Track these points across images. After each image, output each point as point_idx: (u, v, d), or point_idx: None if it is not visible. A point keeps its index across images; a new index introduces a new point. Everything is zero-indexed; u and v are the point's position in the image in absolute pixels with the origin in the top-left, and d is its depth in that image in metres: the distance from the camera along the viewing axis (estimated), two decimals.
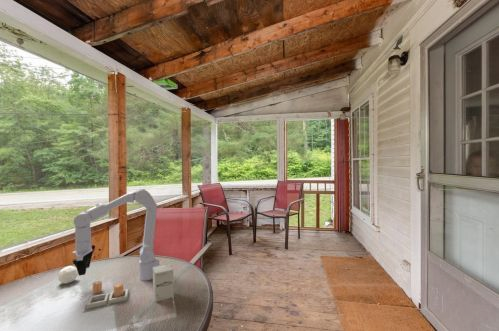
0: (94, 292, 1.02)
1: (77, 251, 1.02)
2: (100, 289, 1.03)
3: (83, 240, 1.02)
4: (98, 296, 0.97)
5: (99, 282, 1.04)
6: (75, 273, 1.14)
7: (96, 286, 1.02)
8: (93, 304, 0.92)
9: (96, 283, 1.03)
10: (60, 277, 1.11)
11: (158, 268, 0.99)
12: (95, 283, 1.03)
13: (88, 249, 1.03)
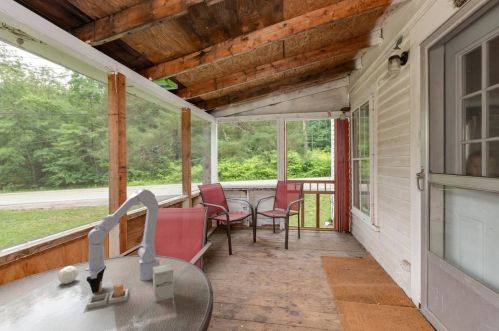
0: None
1: (90, 268, 1.01)
2: (100, 289, 1.03)
3: (98, 257, 1.01)
4: (98, 296, 0.97)
5: None
6: (75, 273, 1.14)
7: None
8: (93, 304, 0.92)
9: None
10: (60, 277, 1.11)
11: (158, 268, 0.99)
12: None
13: (101, 266, 1.02)
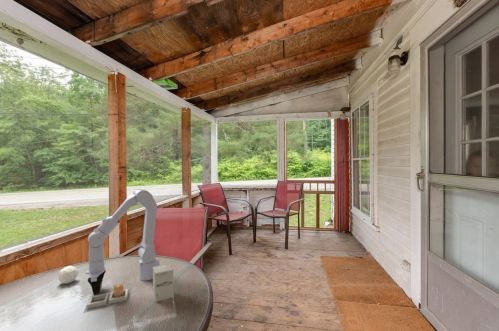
0: None
1: (91, 271, 1.01)
2: (100, 289, 1.03)
3: (98, 260, 1.01)
4: (98, 296, 0.97)
5: None
6: (75, 273, 1.14)
7: None
8: (93, 304, 0.92)
9: None
10: (60, 277, 1.11)
11: (158, 268, 0.99)
12: None
13: (101, 269, 1.02)
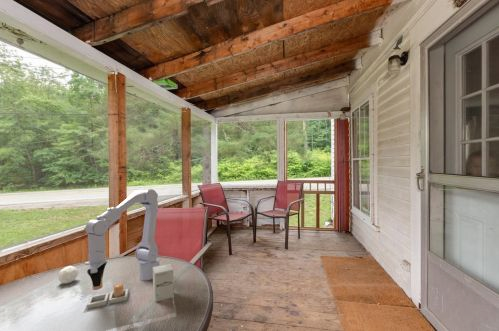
0: None
1: (90, 262, 0.92)
2: None
3: (102, 248, 0.94)
4: (98, 296, 0.97)
5: None
6: (75, 273, 1.14)
7: None
8: (93, 304, 0.92)
9: None
10: (60, 277, 1.11)
11: (158, 268, 0.99)
12: None
13: (102, 260, 0.94)
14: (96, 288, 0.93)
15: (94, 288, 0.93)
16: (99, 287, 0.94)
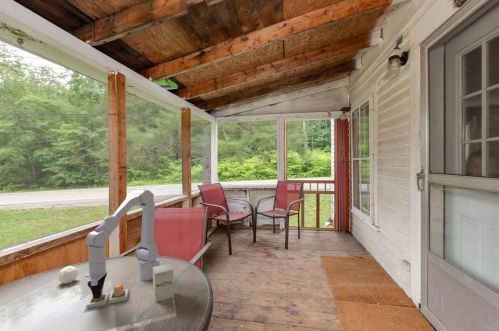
0: None
1: (91, 274, 0.92)
2: None
3: (102, 260, 0.94)
4: None
5: None
6: (75, 273, 1.14)
7: None
8: (93, 304, 0.92)
9: None
10: (60, 277, 1.11)
11: (158, 268, 0.99)
12: None
13: (103, 271, 0.94)
14: (97, 300, 0.93)
15: (94, 300, 0.93)
16: (99, 299, 0.94)
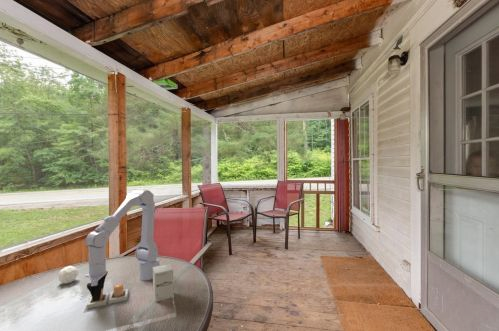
0: None
1: (91, 274, 0.92)
2: (101, 297, 0.94)
3: (102, 261, 0.94)
4: None
5: None
6: (75, 273, 1.14)
7: None
8: (93, 304, 0.92)
9: None
10: (60, 277, 1.11)
11: (158, 268, 0.99)
12: None
13: (103, 272, 0.94)
14: None
15: None
16: None
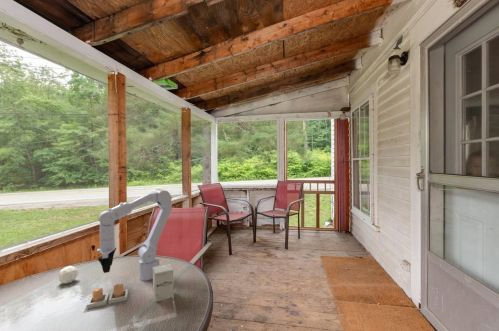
0: (94, 300, 0.93)
1: (101, 249, 1.03)
2: (101, 297, 0.94)
3: (109, 238, 1.04)
4: None
5: (100, 289, 0.95)
6: (75, 273, 1.14)
7: (97, 294, 0.93)
8: (93, 304, 0.92)
9: (96, 290, 0.94)
10: (60, 277, 1.11)
11: (158, 268, 0.99)
12: (95, 290, 0.94)
13: (112, 247, 1.05)
14: None
15: None
16: None
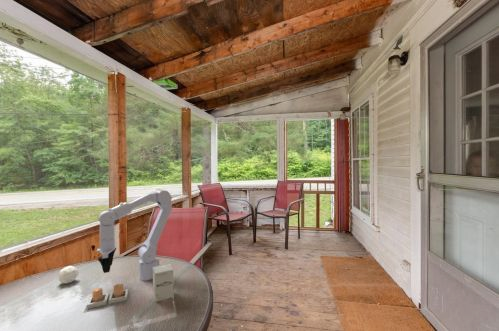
0: (94, 300, 0.93)
1: (101, 249, 1.03)
2: (100, 297, 0.94)
3: (109, 238, 1.04)
4: None
5: (99, 289, 0.95)
6: (75, 273, 1.14)
7: (96, 294, 0.93)
8: (93, 304, 0.92)
9: (96, 290, 0.94)
10: (60, 277, 1.11)
11: (158, 268, 0.99)
12: (95, 290, 0.94)
13: (112, 247, 1.05)
14: None
15: None
16: None
